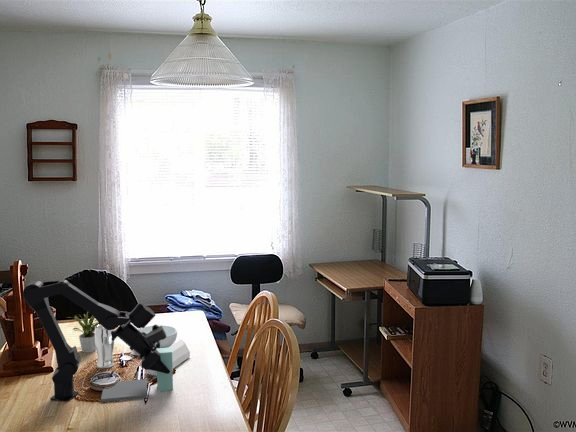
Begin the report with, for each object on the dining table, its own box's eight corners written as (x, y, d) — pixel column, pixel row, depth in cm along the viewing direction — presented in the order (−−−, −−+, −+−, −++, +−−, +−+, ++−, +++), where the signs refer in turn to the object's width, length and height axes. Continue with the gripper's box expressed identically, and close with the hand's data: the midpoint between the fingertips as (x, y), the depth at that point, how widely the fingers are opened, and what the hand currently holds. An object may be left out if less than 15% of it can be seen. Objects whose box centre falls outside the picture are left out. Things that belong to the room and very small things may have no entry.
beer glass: (109, 369, 216) (108, 329, 214) (92, 368, 217) (90, 328, 216) (118, 363, 222) (117, 324, 221) (101, 361, 224) (100, 323, 222)
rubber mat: (101, 402, 187) (100, 399, 187) (104, 385, 201) (104, 382, 201) (146, 398, 190) (146, 394, 190) (146, 381, 204) (146, 379, 204)
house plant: (73, 359, 226) (71, 318, 224) (62, 350, 237) (61, 310, 236) (109, 352, 234) (108, 312, 233) (98, 343, 246) (96, 305, 244)
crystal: (170, 344, 233) (138, 365, 210) (185, 336, 230) (153, 356, 208) (179, 361, 232) (148, 383, 209) (194, 353, 230) (163, 375, 207)
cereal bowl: (126, 353, 234) (126, 335, 233) (146, 340, 250) (145, 324, 249) (166, 356, 230) (165, 338, 229) (183, 343, 246) (183, 326, 245)
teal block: (157, 391, 196) (156, 353, 194) (157, 385, 200) (156, 348, 199) (172, 390, 197) (172, 352, 195) (172, 384, 202) (171, 347, 200)
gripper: (151, 328, 186) (187, 359, 190) (151, 312, 204) (184, 341, 208) (126, 354, 185) (163, 385, 189) (128, 336, 203) (161, 365, 207)
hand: (168, 367), depth 198 cm, fingers open, 9 cm apart
